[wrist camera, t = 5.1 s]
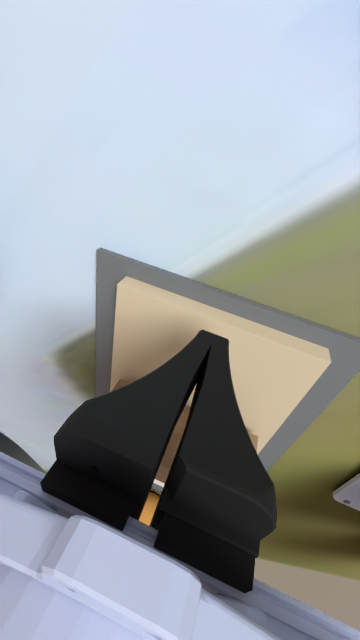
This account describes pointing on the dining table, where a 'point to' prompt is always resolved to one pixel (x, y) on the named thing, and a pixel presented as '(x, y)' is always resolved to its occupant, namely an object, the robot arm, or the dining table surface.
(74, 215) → the dining table surface
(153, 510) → the ball
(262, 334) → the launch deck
